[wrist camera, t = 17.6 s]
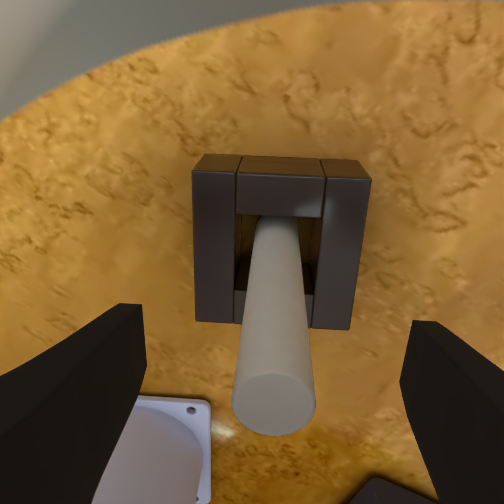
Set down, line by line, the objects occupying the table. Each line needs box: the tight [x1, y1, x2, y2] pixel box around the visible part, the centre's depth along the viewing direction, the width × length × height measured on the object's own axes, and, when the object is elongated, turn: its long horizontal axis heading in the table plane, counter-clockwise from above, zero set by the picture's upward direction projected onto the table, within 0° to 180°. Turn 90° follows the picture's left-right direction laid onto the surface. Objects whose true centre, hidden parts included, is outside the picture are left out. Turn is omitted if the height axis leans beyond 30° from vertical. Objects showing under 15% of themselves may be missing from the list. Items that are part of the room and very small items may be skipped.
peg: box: [232, 215, 316, 436], centre depth 14 cm, size 2×2×11 cm
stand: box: [192, 154, 372, 330], centre depth 18 cm, size 6×6×3 cm
